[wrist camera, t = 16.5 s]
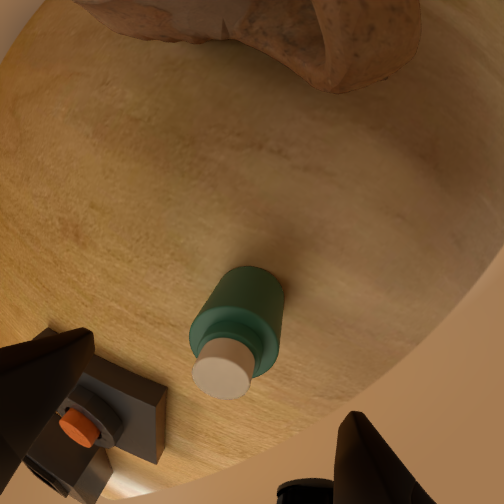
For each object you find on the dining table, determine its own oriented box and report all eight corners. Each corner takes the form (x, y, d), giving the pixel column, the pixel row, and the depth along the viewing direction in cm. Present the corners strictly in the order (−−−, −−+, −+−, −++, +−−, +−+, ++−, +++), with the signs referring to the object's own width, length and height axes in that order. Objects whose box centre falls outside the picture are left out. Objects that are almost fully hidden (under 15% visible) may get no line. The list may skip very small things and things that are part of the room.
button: (97, 420, 16) (86, 434, 14) (103, 439, 17) (94, 453, 15) (66, 401, 16) (54, 414, 14) (73, 422, 17) (64, 434, 15)
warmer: (102, 442, 23) (69, 493, 15) (113, 472, 26) (89, 513, 18) (32, 396, 24) (-4, 433, 16) (50, 433, 27) (23, 467, 19)
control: (167, 387, 18) (145, 425, 14) (164, 448, 21) (150, 478, 17) (47, 327, 19) (18, 349, 15) (66, 398, 22) (46, 420, 18)
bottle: (294, 279, 14) (291, 359, 8) (270, 335, 15) (254, 424, 9) (227, 255, 14) (178, 319, 8) (210, 313, 15) (164, 392, 9)
